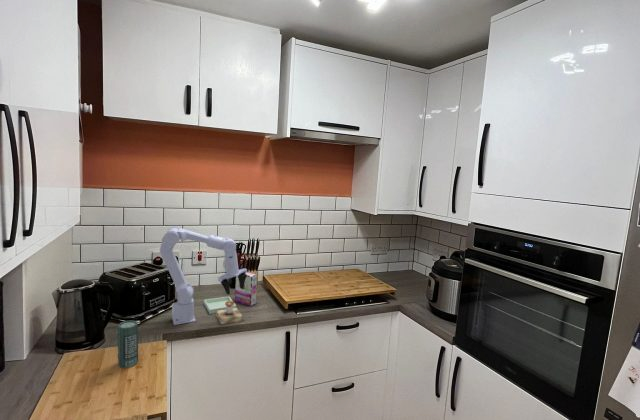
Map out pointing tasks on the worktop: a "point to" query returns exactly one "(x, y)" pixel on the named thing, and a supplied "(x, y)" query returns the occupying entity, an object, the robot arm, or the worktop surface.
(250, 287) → the candy bar box
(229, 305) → the metal pin
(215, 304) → the tray
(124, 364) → the can
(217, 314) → the pin holder block
